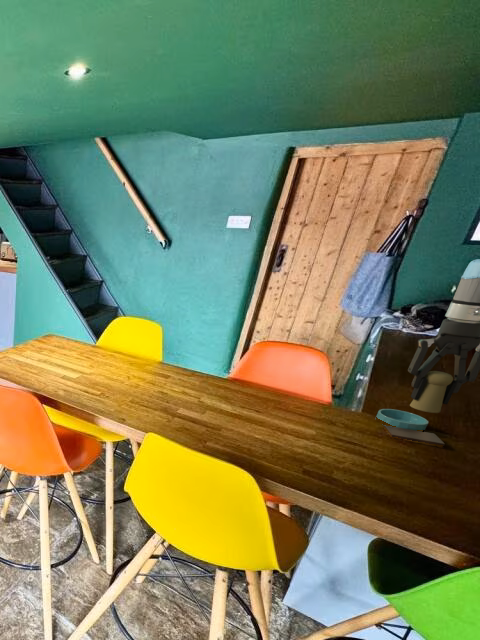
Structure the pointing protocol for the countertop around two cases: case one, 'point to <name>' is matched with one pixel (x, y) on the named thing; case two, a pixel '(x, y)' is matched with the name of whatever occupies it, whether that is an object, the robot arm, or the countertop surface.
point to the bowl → (402, 419)
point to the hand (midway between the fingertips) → (428, 400)
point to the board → (414, 435)
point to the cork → (433, 392)
